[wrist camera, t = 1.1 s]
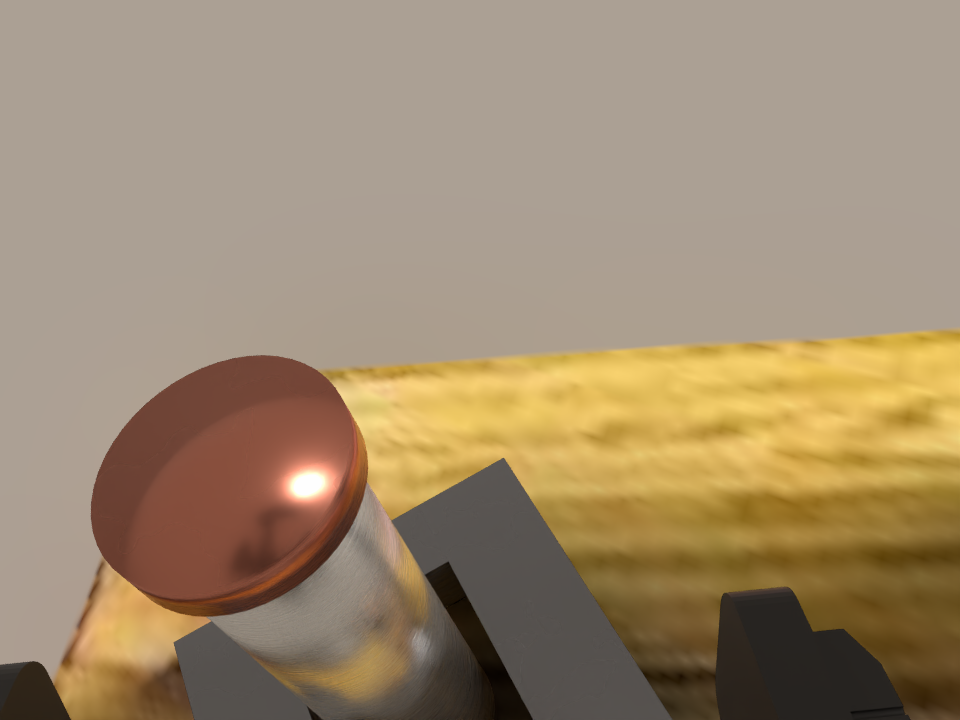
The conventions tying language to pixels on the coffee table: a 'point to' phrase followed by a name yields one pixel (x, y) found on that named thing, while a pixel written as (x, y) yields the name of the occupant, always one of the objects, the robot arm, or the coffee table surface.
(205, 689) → the bore housing
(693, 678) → the coffee table surface
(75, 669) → the coffee table surface
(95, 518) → the capped metal cylinder
